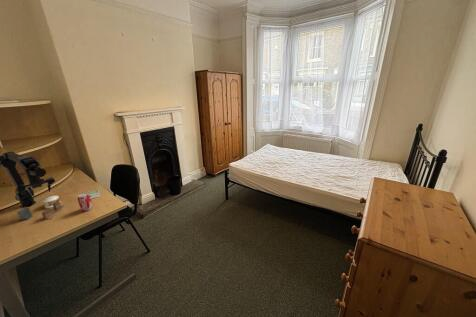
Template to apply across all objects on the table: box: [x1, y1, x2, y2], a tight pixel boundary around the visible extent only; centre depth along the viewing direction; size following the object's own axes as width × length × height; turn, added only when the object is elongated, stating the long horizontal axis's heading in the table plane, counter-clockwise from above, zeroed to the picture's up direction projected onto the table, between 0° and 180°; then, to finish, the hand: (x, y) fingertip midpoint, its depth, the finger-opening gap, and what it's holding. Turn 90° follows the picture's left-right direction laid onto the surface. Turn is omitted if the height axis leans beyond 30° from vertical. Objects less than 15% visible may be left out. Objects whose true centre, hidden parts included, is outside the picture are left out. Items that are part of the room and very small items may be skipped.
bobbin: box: [42, 195, 62, 209], centre depth 147 cm, size 9×9×6 cm
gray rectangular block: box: [17, 207, 33, 222], centre depth 132 cm, size 4×4×7 cm
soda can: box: [77, 192, 94, 212], centre depth 140 cm, size 7×7×12 cm
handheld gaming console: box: [85, 189, 101, 200], centre depth 161 cm, size 10×2×15 cm
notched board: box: [40, 199, 66, 221], centre depth 138 cm, size 6×16×6 cm, turn 13°
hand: (40, 194), depth 138 cm, fingers open, 9 cm apart
